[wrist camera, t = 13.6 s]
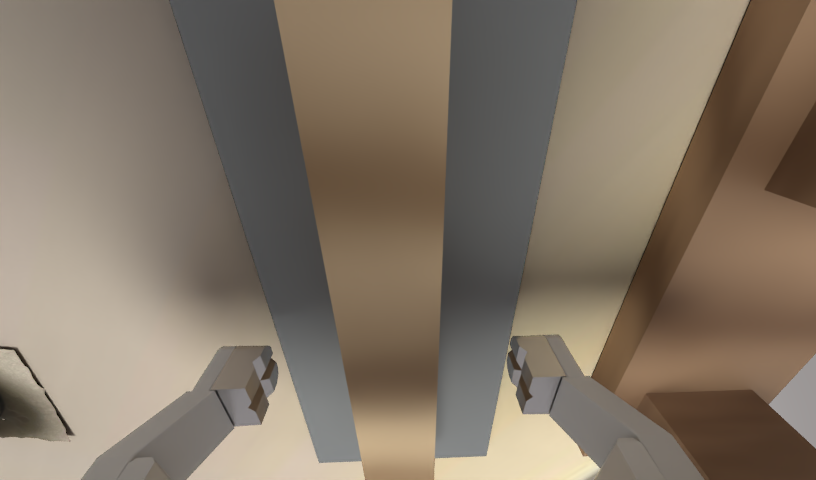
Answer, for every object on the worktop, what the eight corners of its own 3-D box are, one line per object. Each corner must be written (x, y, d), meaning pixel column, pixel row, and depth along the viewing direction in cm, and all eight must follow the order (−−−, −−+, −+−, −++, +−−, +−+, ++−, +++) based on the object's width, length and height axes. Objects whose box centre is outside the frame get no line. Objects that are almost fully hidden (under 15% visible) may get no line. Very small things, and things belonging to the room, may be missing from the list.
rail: (312, 0, 8) (267, -32, 5) (435, -3, 8) (453, -36, 5) (374, 442, 18) (370, 508, 15) (427, 440, 18) (432, 506, 15)
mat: (150, -104, 7) (131, -117, 7) (587, -112, 7) (602, -125, 7) (321, 451, 19) (318, 462, 19) (483, 445, 19) (486, 455, 19)
